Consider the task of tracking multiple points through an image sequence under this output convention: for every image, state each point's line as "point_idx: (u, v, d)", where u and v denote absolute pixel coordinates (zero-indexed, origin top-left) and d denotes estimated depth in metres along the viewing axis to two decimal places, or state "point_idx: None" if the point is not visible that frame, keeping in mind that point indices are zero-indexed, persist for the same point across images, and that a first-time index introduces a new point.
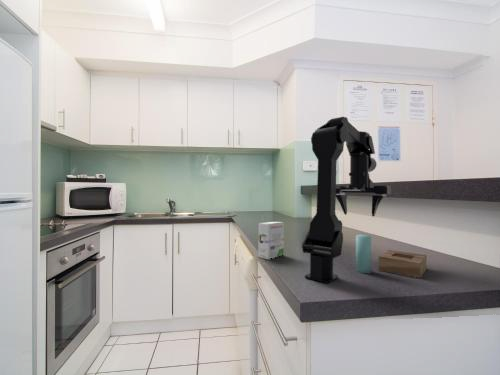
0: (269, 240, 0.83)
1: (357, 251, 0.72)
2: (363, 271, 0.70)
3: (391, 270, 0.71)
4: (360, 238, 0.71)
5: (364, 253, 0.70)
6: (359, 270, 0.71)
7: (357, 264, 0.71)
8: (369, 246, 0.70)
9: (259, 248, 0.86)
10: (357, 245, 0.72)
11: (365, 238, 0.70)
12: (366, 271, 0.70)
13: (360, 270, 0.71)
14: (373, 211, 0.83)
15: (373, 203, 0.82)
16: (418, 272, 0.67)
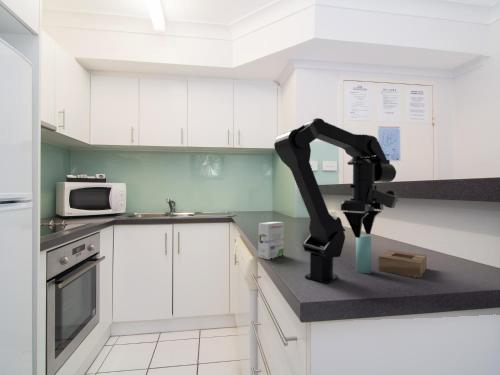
0: (269, 240, 0.83)
1: (357, 251, 0.72)
2: (363, 271, 0.70)
3: (391, 270, 0.71)
4: (360, 238, 0.71)
5: (364, 253, 0.70)
6: (359, 270, 0.71)
7: (357, 264, 0.71)
8: (369, 246, 0.70)
9: (259, 248, 0.86)
10: (357, 245, 0.72)
11: (365, 238, 0.70)
12: (366, 271, 0.70)
13: (360, 270, 0.71)
14: None
15: None
16: (418, 272, 0.67)
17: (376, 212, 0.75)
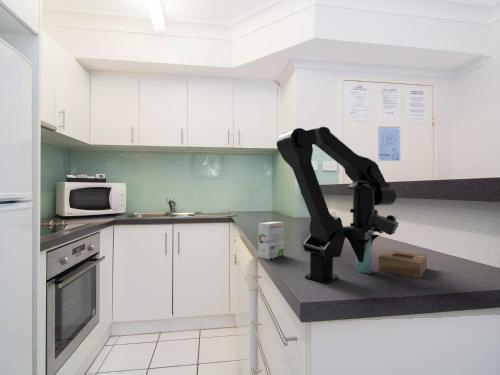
0: (269, 240, 0.83)
1: None
2: (363, 271, 0.70)
3: (391, 270, 0.71)
4: None
5: None
6: (359, 270, 0.71)
7: (357, 264, 0.71)
8: (369, 246, 0.70)
9: (259, 248, 0.86)
10: None
11: None
12: (366, 271, 0.70)
13: (360, 270, 0.71)
14: None
15: None
16: (418, 272, 0.67)
17: (374, 237, 0.73)
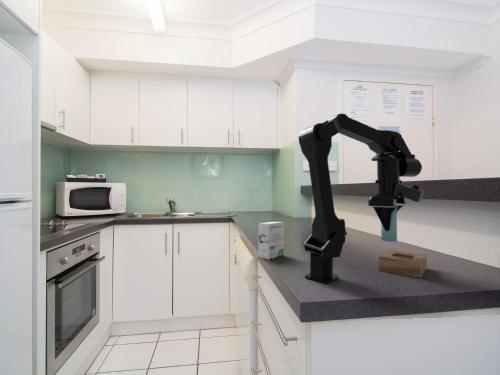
0: (269, 240, 0.83)
1: None
2: (389, 239, 0.72)
3: (391, 270, 0.71)
4: None
5: None
6: (385, 239, 0.73)
7: (383, 233, 0.73)
8: (395, 215, 0.72)
9: (259, 248, 0.86)
10: None
11: None
12: (392, 239, 0.72)
13: (386, 239, 0.72)
14: (382, 224, 0.73)
15: None
16: (418, 272, 0.67)
17: (399, 207, 0.75)
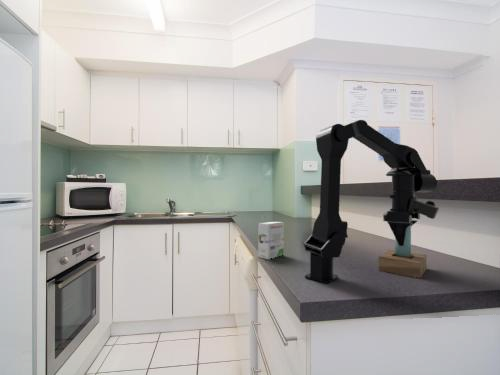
0: (269, 240, 0.83)
1: None
2: (403, 254, 0.72)
3: (391, 270, 0.71)
4: None
5: None
6: (399, 254, 0.73)
7: (397, 248, 0.74)
8: (409, 230, 0.73)
9: (259, 248, 0.86)
10: None
11: None
12: (406, 254, 0.72)
13: (400, 254, 0.73)
14: (396, 239, 0.73)
15: None
16: (418, 272, 0.67)
17: (413, 222, 0.75)
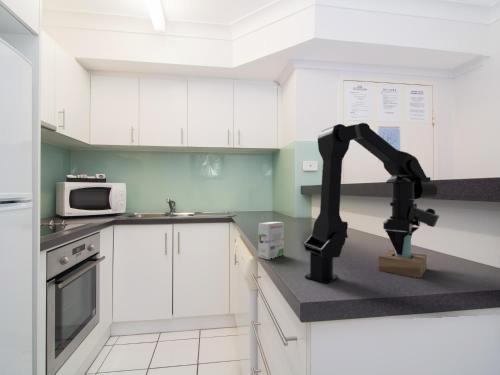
0: (269, 240, 0.83)
1: None
2: None
3: (391, 270, 0.71)
4: None
5: (404, 252, 0.72)
6: None
7: None
8: (409, 245, 0.73)
9: (259, 248, 0.86)
10: None
11: (405, 237, 0.72)
12: None
13: None
14: (395, 248, 0.71)
15: None
16: (418, 272, 0.67)
17: (414, 229, 0.77)
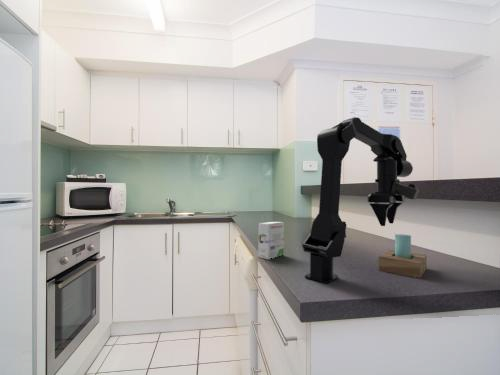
0: (269, 240, 0.83)
1: (397, 250, 0.74)
2: None
3: (391, 270, 0.71)
4: (400, 237, 0.73)
5: (404, 252, 0.72)
6: None
7: None
8: (409, 245, 0.73)
9: (259, 248, 0.86)
10: (397, 244, 0.74)
11: (405, 237, 0.72)
12: None
13: None
14: None
15: None
16: (418, 272, 0.67)
17: (398, 204, 0.83)
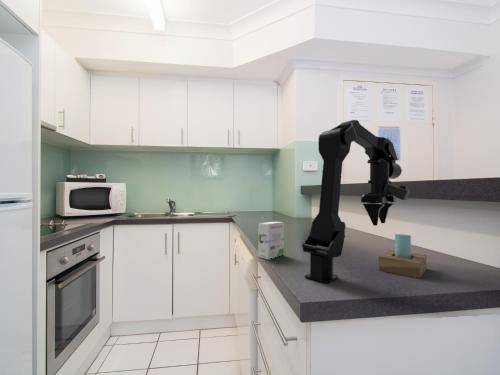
0: (269, 240, 0.83)
1: (397, 250, 0.74)
2: None
3: (391, 270, 0.71)
4: (400, 237, 0.73)
5: (404, 252, 0.72)
6: None
7: None
8: (409, 245, 0.73)
9: (259, 248, 0.86)
10: (397, 244, 0.74)
11: (405, 237, 0.72)
12: None
13: None
14: (371, 220, 0.81)
15: None
16: (418, 272, 0.67)
17: (390, 204, 0.87)
